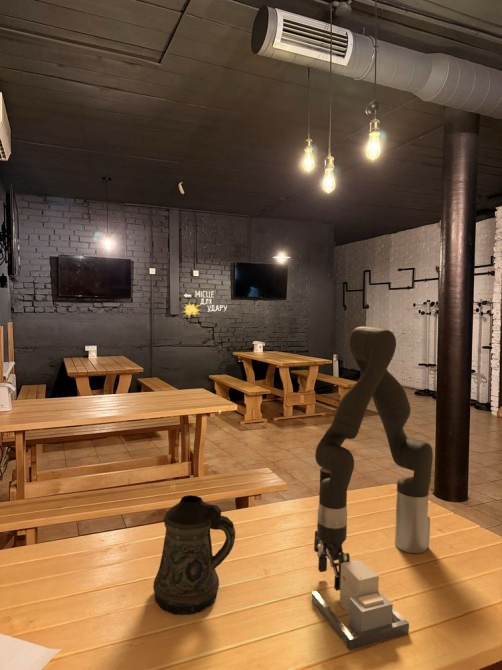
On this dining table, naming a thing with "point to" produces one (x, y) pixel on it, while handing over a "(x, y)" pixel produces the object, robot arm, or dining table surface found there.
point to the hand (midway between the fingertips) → (330, 579)
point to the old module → (369, 612)
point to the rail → (365, 637)
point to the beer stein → (191, 557)
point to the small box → (356, 581)
